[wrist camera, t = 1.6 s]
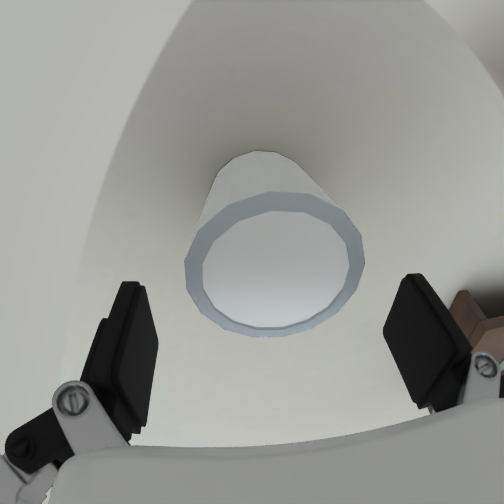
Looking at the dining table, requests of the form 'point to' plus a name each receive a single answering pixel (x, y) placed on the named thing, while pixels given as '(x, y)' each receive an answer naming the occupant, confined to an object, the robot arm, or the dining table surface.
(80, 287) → the dining table surface
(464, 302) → the shelf
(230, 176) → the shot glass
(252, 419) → the dining table surface
